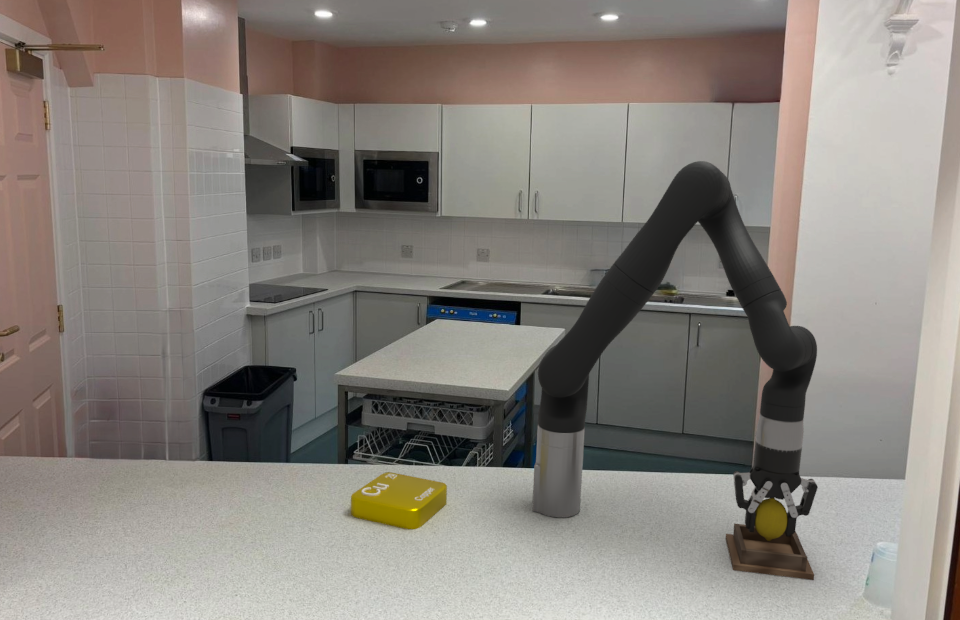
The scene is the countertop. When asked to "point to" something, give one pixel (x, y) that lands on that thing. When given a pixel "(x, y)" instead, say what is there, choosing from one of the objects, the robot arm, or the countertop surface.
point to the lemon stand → (767, 554)
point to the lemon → (770, 519)
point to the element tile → (399, 500)
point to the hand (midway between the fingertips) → (769, 532)
